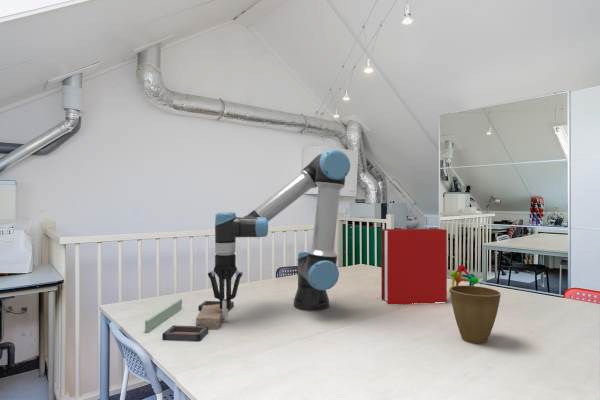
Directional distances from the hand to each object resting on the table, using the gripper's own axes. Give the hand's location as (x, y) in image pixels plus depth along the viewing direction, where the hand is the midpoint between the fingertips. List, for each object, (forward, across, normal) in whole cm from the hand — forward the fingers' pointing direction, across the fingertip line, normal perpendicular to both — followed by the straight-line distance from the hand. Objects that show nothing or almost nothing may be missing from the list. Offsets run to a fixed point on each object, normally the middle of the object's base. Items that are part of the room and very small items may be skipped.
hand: (225, 317), depth 140 cm
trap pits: (+2, +8, 0) cm, 9 cm away
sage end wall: (+2, +23, 0) cm, 23 cm away
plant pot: (+2, -85, +10) cm, 86 cm away
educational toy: (+2, -101, -48) cm, 111 cm away
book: (+2, -76, -35) cm, 83 cm away
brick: (+2, +5, +1) cm, 5 cm away
